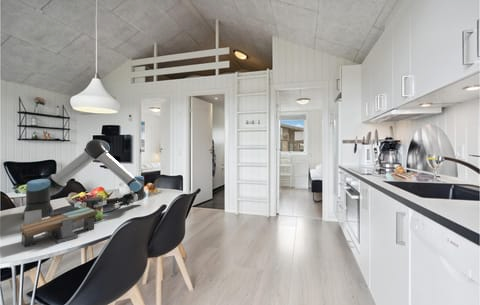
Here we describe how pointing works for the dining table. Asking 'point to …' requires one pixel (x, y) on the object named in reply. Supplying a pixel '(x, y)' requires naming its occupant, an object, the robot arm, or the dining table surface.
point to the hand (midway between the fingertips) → (106, 205)
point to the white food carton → (32, 216)
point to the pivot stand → (61, 231)
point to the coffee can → (95, 207)
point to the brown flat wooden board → (55, 221)
